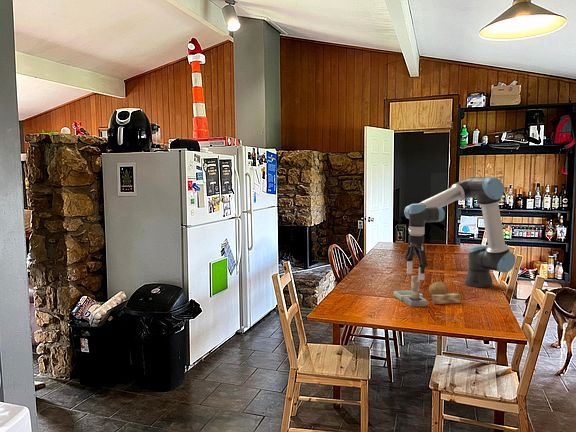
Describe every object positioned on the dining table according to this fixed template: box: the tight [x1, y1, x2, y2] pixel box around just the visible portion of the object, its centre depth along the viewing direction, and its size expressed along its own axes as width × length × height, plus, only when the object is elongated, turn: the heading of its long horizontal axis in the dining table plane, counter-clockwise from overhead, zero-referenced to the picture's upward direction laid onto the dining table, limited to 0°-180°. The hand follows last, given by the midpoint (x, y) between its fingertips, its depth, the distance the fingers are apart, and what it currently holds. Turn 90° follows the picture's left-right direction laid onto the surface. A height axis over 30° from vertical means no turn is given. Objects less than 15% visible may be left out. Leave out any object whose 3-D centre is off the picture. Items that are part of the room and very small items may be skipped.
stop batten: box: [431, 292, 461, 305], centre depth 231 cm, size 14×3×4 cm, turn 99°
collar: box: [402, 296, 429, 307], centre depth 229 cm, size 9×9×2 cm
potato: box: [428, 281, 449, 297], centre depth 238 cm, size 10×14×8 cm
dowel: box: [410, 274, 421, 301], centre depth 229 cm, size 4×4×14 cm
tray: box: [393, 289, 424, 302], centre depth 240 cm, size 12×10×2 cm
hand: (415, 276), depth 228 cm, fingers open, 13 cm apart
